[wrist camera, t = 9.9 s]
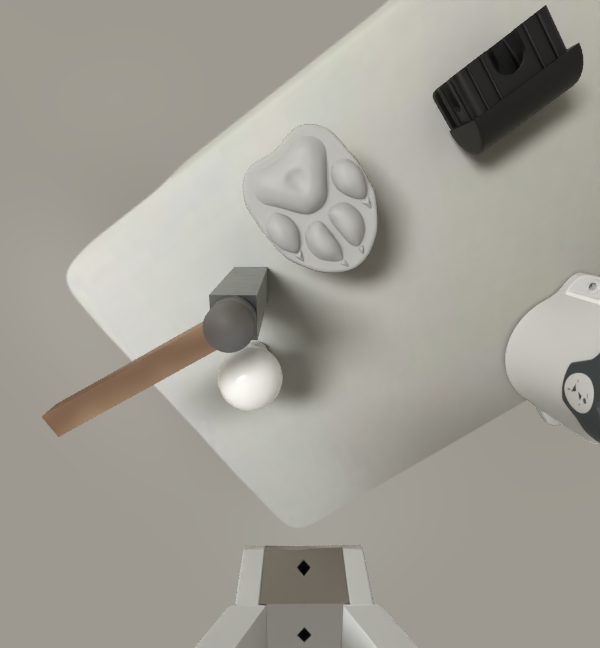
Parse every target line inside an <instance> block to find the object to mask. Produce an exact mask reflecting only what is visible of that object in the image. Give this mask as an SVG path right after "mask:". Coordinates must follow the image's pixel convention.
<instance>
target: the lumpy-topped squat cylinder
mask: <svg viewBox="0 0 600 648" xmlns="http://www.w3.org/2000/svg"><path fill="white" fill-rule="evenodd" d="M243 196H244V201H245V204H246V206H247V208H248V210H249V212H250V214H251V215H252V217H253V218H254V220H255V221H256V223H257V224H258V226H259V227H260V229H261V230H262V232H263V233H264V234H265V235H266V237H267V238H268V239H269V240H270V241H271V243H272V244H273V245H274V246H275V247H276V248H277V249H278V250H279V251H280V252H281V253H282V254H283V255H284V256H285V257H286V258H287V259H289V260H290V261H292V262H294V263H296V264H299V265H301V266H304V267H306V268H309V269H312V270H315V271H319V272H328V273H335V272H344V271H349V270H351V269H354V268H356V267H357V266H359V265H360V264H361V263H362V262H363V261H364V260H365V259H366V258H367V256H368V255H369V253H370V251H371V249H372V247H373V244H374V241H375V237H376V233H377V226H378V217H377V204H376V197H375V192H374V189H373V187H372V185H371V183H370V181H369V179H368V177H367V176H366V174H365V172H364V170H363V169H362V167H361V166H360V164H359V163H358V161H357V160H356V159H355V157H354V156H353V155H352V154H351V152H350V151H349V150H348V149H347V148H346V147H345V145H344V144H343V143H342V142H341V141H340V140H339V138H338V137H337V136H336V135H335V134H333V133H332V132H331V131H330V130H328V129H327V128H325V127H322V126H319V125H314V124H304V125H300V126H298V127H296V128H295V129H293V130H292V131H291V132H290V133H289V134H288V135H287V136H286V137H285V139H284V140H283V141H282V142H281V143H280V145H279V146H278V147H277V148H276V149H275V150H274V151H273V152H271V153H270V154H268V155H267V156H265V157H263V158H262V159H260V160H258V161H257V162H255V163H254V164H253V165H252V166H251V167H250V168H249V169H248V170H247V172H246V174H245V176H244V180H243Z"/></svg>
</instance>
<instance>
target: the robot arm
mask: <svg viewBox="0 0 600 648" xmlns="http://www.w3.org/2000/svg"><path fill="white" fill-rule="evenodd" d="M591 283H592V287H591V288H590V289H589V285H590V284H591ZM505 366H506V372H507V376H508V378H509V381H510V383H511V384H512V386H513V387H514V389H515V390H516V391H517V392H518V393H519V394H520V395H521V396H522V397H524V398H525V399H527V400H528V401H530V402H531V403H532V404H533V405H534V406H535V407H536V409H537V411H538V413H539V414H540V416H541V418H542V419H543V420H544V421H546V422H547V423H549V424H550V425H563V426H565V427H566V428H568V429H569V430H571V431H572V432H574V433H576V434H577V435H578V436H580V437H582V438H583V439H585V440H586V441H588V442H590V443H592V444H595V445H598V444H600V276H597V275H592V274H588V273H576V274H574V275H573V276H571V277H570V278H569V279H568V280H567V281H566V282H565V284H564V285H563V286H562V287H561V288H560V290H559V291H558V292H557V293H556V294H554V295H553V296H551V297H550V298H548V299H547V300H545V301H543V302H541V303H540V304H538V305H537V306H535V307H534V308H533V309H532V310H530V311H529V312H528V313H527V314H526V315H525V316H524V317H523V318H522V319H521V321H520V322H519V323H518V325H517V326H516V327H515V329H514V331H513V333H512V335H511V337H510V339H509V342H508V345H507V349H506V355H505ZM195 648H418V647H417V646H416V645H415V644H414V642H413V641H412V640H411V639H410V638H409V637H408V636H407V635H406V633H405V632H404V631H403V630H402V629H401V628H400V627H399V626H398V624H397V623H396V622H395V621H394V620H393V619H392V618H391V616H390V615H389V614H388V613H387V612H386V611H385V610H384V609H383V607H382V606H381V605H376V604H374V602H373V597H372V593H371V588H370V583H369V577H368V572H367V567H366V562H365V557H364V552H363V548H362V546H361V545H342V546H340V545H332V546H245V548H244V551H243V557H242V564H241V570H240V577H239V584H238V590H237V597H236V604H235V606H228V608H227V609H226V610H225V611H224V612H223V614H222V615H221V616H220V617H219V619H218V620H217V621H216V622H215V624H213V626H212V627H211V628H210V629H209V631H208V632H207V633H206V634H205V635H204V637H203V638H202V639H201V641H199V643H198V644H197V645H196V646H195Z"/></svg>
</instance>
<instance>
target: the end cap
mask: <svg viewBox="0 0 600 648" xmlns="http://www.w3.org/2000/svg"><path fill="white" fill-rule="evenodd" d="M582 70H583V54H582V49H581V46H580V44H579V43H578V44H576V45H574V46H572V47H570V48H569V49H566V47H565V45H564V43H563V41H562V38H561V36H560V34H559V32H558V30H557V28H556V25H555V23H554V21H553V19H552V17H551V15H550V12H549V10H548V8H547V6H546V5H545V6H544V7H543V8H541V9H540V10H539V11H537V12H536V13H535V14H534V15H532V16H531V17H530V18H528V19H527V20H526V21H524V22H523V23H522V24H520V25H519V26H518V27H517V28H515V29H514V30H513V31H512V32H511V33H509V34H508V35H507V36H505V37H504V38H503V39H502V40H500V41H499V42H498V43H496V44H495V45H494V46H492V47H491V48H490V49H489V50H487V51H485V52H484V53H483V54H481V55H480V56H479V57H477V58H476V59H475V60H473V61H472V62H471V63H470V64H468V65H467V66H466V67H464V68H463V69H462V70H460V71H459V72H458V73H457V74H455V75H454V76H453V77H451V78H450V79H449V80H448V81H446V82H445V83H444V84H443V85H441V86H440V87H439V88H437V89H436V90H435V91H434V93H433V99H434V101H435V103H436V104H437V106H438V108H439V110H440V112H441V113H442V115H443V117H444V119H445V120H446V122H447V124H448V126H449V128H450V129H451V131H450V133H451V135H452V136H453V138H454V139H455V140H456V141H457V143H458V144H459V145H460V146H461V147H462V148H464V149H465V150H466V151H468V152H470V153H474V154H478V153H480V152H482V151H484V150H485V149H487V148H488V147H489V146H491V145H492V144H493V143H495V142H496V141H498V140H499V139H500V138H502V137H503V136H504V135H506V134H507V133H509V132H510V131H511V130H513V129H514V128H515V127H517V126H518V125H520V124H521V123H522V122H524V121H525V120H527V119H528V118H529V117H531V116H532V115H533V114H535V113H536V112H538V111H539V110H540V109H542V108H543V107H544V106H546V105H547V104H549V103H550V102H551V101H553V100H554V99H555V98H557V97H558V96H560V95H561V94H562V93H564V92H565V91H567V90H568V89H569V88H571V87H572V86H573V85H574V84H575V83H576V82H577V81H578V79H579V78H580V76H581V73H582Z"/></svg>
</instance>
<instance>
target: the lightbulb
mask: <svg viewBox="0 0 600 648" xmlns="http://www.w3.org/2000/svg"><path fill="white" fill-rule="evenodd" d="M282 381H283V375H282V369H281V366H280V364H279V362H278V360H277V359H276V358H275V356H274V355H273V354H272V353H270V352H269V351H268V350H267V348H266V346H265V345H264V344H262V343H260V342H252V343H250V344H248V345H247V346H246V347H245V348H243V349H242V350H240V351H237V352H233V353H230V354H228V355H227V356H226V358H225V359H224V360H223V362H222V364H221V366H220V368H219V371H218V386H219V390H220V392H221V394H222V396H223V397H224V399H225V400H226V401H227V402H228V403H229V404H230V405H232V406H233V407H235V408H237V409H240V410H244V411H255V410H259V409H262V408H264V407H266V406H268V405H269V404H270V403H272V402H273V401H274V400H275V398H276V397H277V396H278V394H279V392H280V390H281V387H282Z"/></svg>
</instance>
